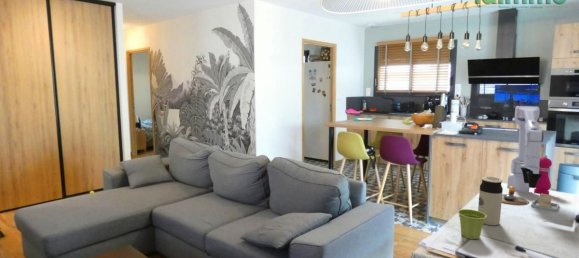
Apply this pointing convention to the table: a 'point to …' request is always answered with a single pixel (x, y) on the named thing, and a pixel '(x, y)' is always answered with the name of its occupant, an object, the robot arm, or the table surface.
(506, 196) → the crank
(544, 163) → the pepper mill
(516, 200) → the crank base
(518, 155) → the robot arm
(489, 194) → the travel mug
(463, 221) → the plant pot
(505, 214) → the table surface
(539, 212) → the table surface
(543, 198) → the stop block
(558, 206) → the tray
